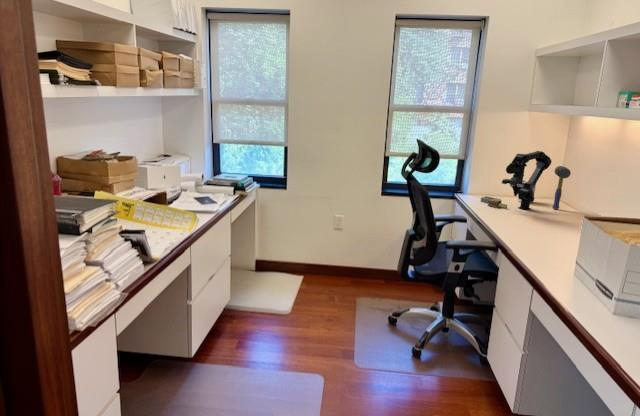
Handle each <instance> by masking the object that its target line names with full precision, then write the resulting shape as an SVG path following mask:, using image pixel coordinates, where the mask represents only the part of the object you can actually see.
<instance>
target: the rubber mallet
mask: <svg viewBox="0 0 640 416" xmlns="http://www.w3.org/2000/svg"><path fill="white" fill-rule="evenodd" d="M554 174H555V175H556V176H557V177H558V184H557V187H556V190H555V192H554V201H553V204H552V209H553V210H555V211H557V210H559V208H560V201H561V198H562V191H563V190H562V187H563V182H564V179H567V178H568V179H569V178H570V176H571V174H572V173H571V170H570V169H569V168H568V167H566V166H563V165H558V166H556V167H555V169H554Z"/></svg>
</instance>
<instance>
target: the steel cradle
mask: <svg viewBox="0 0 640 416" xmlns="http://www.w3.org/2000/svg"><path fill="white" fill-rule="evenodd" d="M490 199H498V200H502V199H501V198H497V197H492V196H486V195H485V196H482V197H480V202H481V203H485V204H488V202H489V200H490Z"/></svg>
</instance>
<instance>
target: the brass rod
mask: <svg viewBox="0 0 640 416" xmlns="http://www.w3.org/2000/svg"><path fill="white" fill-rule="evenodd" d="M497 208H500V209H504V210H506V209H507V208H508V204H505V203H502V202H501V203H498V206H497Z"/></svg>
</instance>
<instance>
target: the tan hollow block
mask: <svg viewBox="0 0 640 416" xmlns="http://www.w3.org/2000/svg"><path fill="white" fill-rule="evenodd" d="M498 199H499V198H497V199H490V200H489V202H488V203H487V207H491V208H495V209H497V208H498V207H497V206H498V203H501V204H502V202H503V201H502V199H501V200H498Z"/></svg>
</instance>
